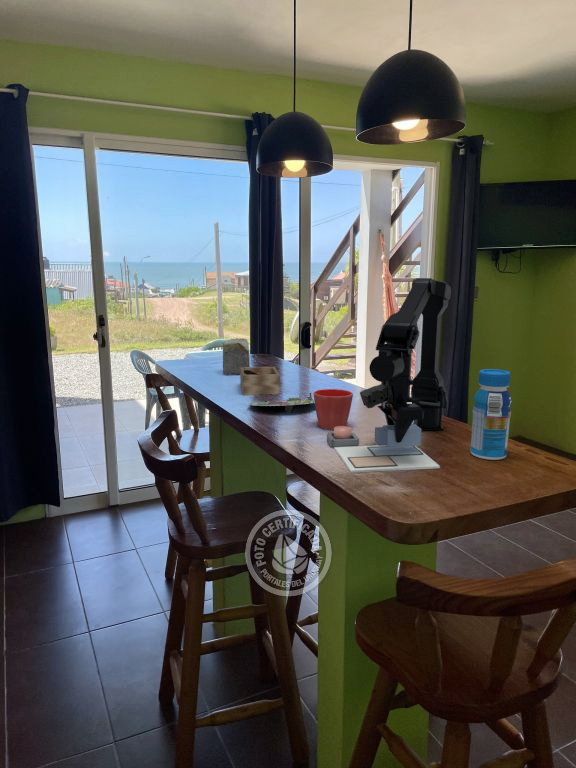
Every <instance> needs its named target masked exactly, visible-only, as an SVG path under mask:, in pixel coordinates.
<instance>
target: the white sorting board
mask: <svg viewBox="0 0 576 768" xmlns="http://www.w3.org/2000/svg"><path fill="white" fill-rule="evenodd" d="M333 450H334V451H335V452H336V455H338V457H339V458H340V459H341V461H342V462H343V464H344V465H345V467H346V468H347V469H348V471H349V472H350V474H352V473H356V474H357V473H371V472H372V473H373V472H394V471H412V470H414V471H415V470H430V469H431V470H432V469H440V468H441V466H440V464H438V462H436V461H434V460H433V459H432V457H430V456H429V455H427V454H426V453H425V452H424V451H422V449H421V448H419V447H418V445H417V446H394V447H387V446H386V445H380V446H379V445H378V444H376V445H359V446H352V447H334V448H333Z"/></svg>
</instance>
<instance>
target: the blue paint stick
mask: <svg viewBox="0 0 576 768" xmlns="http://www.w3.org/2000/svg"><path fill="white" fill-rule="evenodd" d="M421 441H422V430H421V428H419V427H418V426H417V425H415V424H413V423H412V424H411V425H410V427H409V429H408V430H407V432H406V434H405V436H404V438H403V439H402V441H401V442H400V443H397V442H396V439H395V430H394V425H387V424H385V425H382V427H381V426H379V427H378V426H377V427H374V442H375V443H376V445H379V446H380V445H386V446H387V447H394V446H417V447H418V446H421Z"/></svg>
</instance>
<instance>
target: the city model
mask: <svg viewBox="0 0 576 768" xmlns="http://www.w3.org/2000/svg"><path fill="white" fill-rule="evenodd" d="M306 397H307V396H306ZM301 398H302V396H301V394H300V395H299V397H296V396H295V397H289V398H288V399H286V400H285V399H284V400H275V399H274V400H270V399H271V398H268V401H267V402H265V401H260V400H261V398H260V397H258V398H257V399H258V401H254V402H251V403H248V405H249V406H255V407H256V406H257V407H258V406H260V407H264V406H265V407H268V406H269V407H272V406H273V407H275V406H277V407H278V406H279V407H280V406H284V411H285V412H290V413H293V406H296V405H306V404H307V405H308V404H313V403H314V404H315V401H314V398H313V397H312V392H309V397H307V398H304V399H301Z"/></svg>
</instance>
